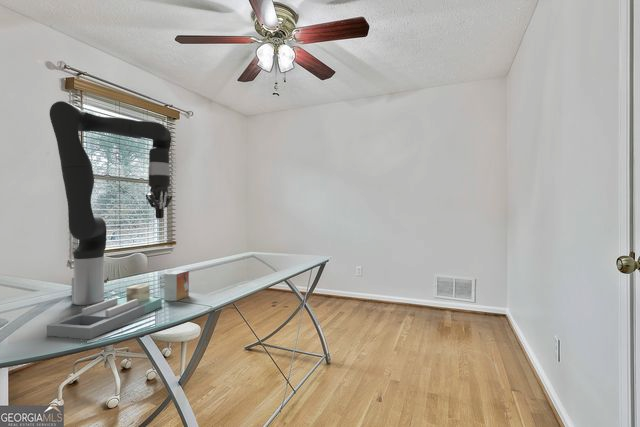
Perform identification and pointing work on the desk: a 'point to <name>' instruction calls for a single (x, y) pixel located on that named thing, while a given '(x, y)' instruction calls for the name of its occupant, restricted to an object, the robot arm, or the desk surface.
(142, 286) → the block
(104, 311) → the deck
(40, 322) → the desk surface
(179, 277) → the small box
